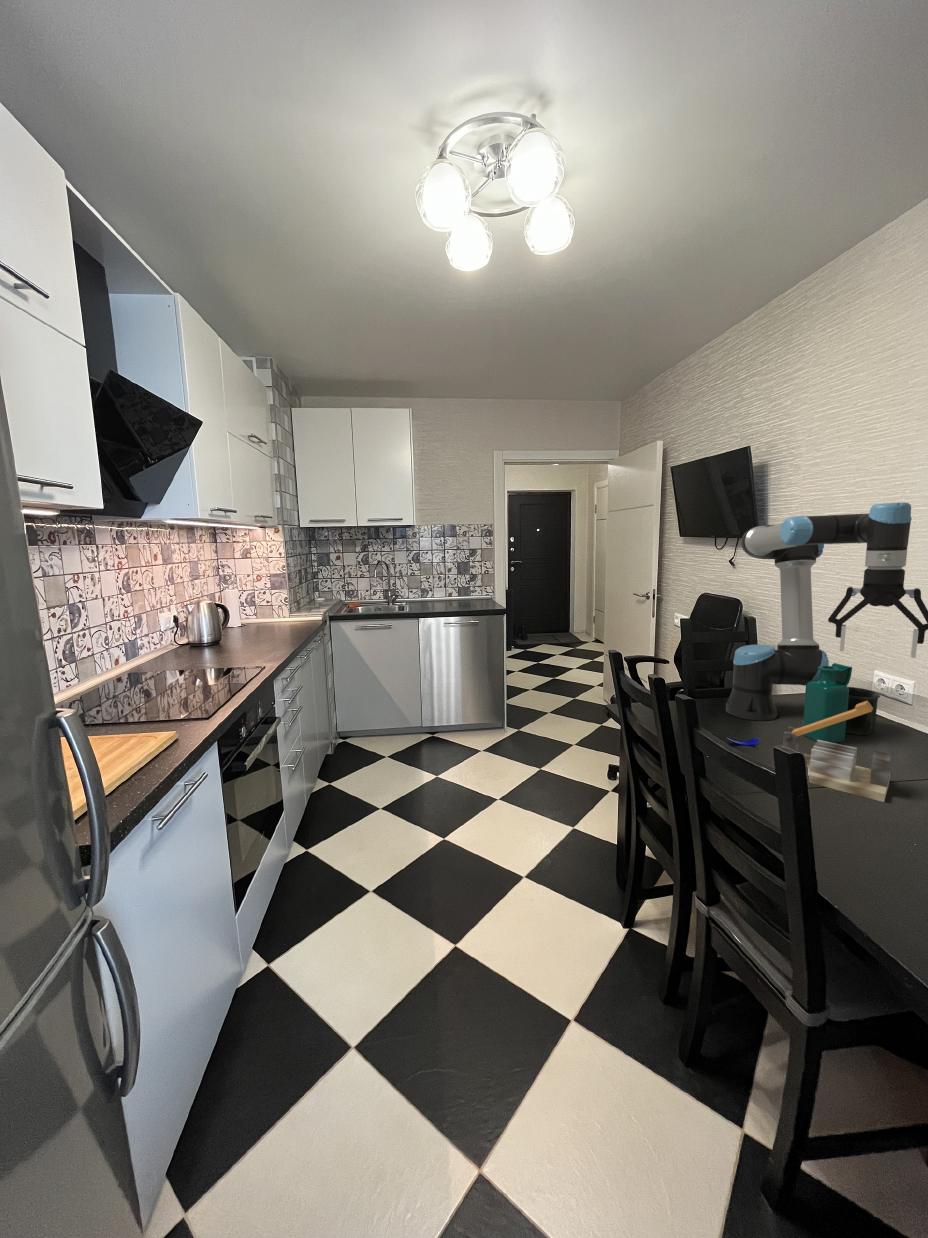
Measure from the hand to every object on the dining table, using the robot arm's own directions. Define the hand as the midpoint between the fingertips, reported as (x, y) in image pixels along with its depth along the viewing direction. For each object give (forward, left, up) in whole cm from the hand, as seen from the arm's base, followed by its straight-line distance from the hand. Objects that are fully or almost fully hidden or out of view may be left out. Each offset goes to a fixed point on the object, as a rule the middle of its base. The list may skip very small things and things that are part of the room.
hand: (876, 653), depth 121 cm
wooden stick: (-1, -13, -16) cm, 21 cm away
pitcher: (-17, +10, -31) cm, 36 cm away
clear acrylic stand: (0, -13, -30) cm, 33 cm away
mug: (-19, +25, -31) cm, 44 cm away
